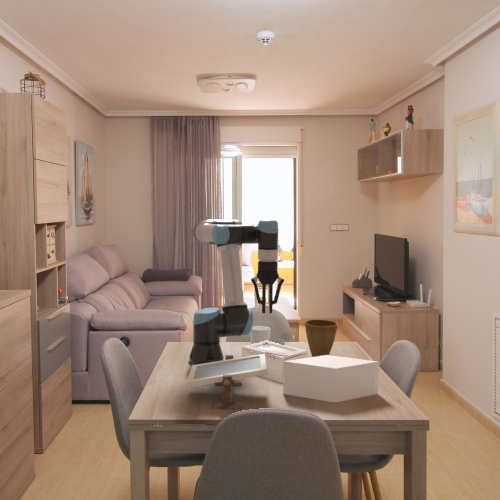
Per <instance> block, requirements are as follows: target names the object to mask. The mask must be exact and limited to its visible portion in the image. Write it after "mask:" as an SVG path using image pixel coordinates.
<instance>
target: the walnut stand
mask: <svg viewBox="0 0 500 500" xmlns="http://www.w3.org/2000/svg"><path fill="white" fill-rule="evenodd" d="M224 357H225V358H224V360H228V359H234V355H232V354H231V355H225V356H224ZM215 386H222V401H212V405H211V409H212V410H213V409H217V410H218V409H220V410H222V409H223V410H224V409H225V410H226V409H227V410H228V409H229V410H233V409H234V410H241V409H242V408H243V405H242V403H243V402H242V401H232V399H233V397H232V394H233V393H232V392H233V391H232V389H233V388H232V386H243V380H242V379H235V380H232V375H223V382H217V383H215Z"/></svg>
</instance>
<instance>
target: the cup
mask: <svg viewBox="0 0 500 500" xmlns="http://www.w3.org/2000/svg"><path fill="white" fill-rule="evenodd" d="M268 340H269V341H272V342H275V343H279V344H281V345H284V346H285V343H286V341H285V340H284V339H280V338H270V339H268Z"/></svg>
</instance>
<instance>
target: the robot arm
mask: <svg viewBox="0 0 500 500" xmlns="http://www.w3.org/2000/svg"><path fill="white" fill-rule="evenodd" d="M192 233H193V237H194V239H195V240H196V241H197V242H199V243H201V244H205V245H216V250H217V251H218V252H220V259H221V261H220V262H221V271H222V283H223V284H222V285H223V296H224V298H223V299H224V303H223V305H222V306H221V309H220V308H219V307H215V306H214V307H204V308H200V309H198V310H196V311H195V312H194V313H193V321H192V325H193V333H192V335H193V343H192V348H191V351H190V353H189V357H188V358H189V360H188V361H189V363H190V364H192V365H197V364H203V363H209V362H216V361H222V360H225V358H224V357H225V356H224V354H223V351H222V348H221V343H220V341H221V340H220V339H221V338H226V337H227V338H229V337H241V336H246V335H250V331H251V329H252V327H253V326H254V325H253V324H254V314H253V311H252V309H250V308H248V304H247V303H246V302H245V300H244V291H243V289H244V288H243V281H242V280H243V279H242V270H241V269H242V268H241V258H240V250H241V249H242V247H243V246H242V245H244V244H245V245H248V244H249V245H250V244H257V260H258V262H257V273H256V276H255V277H252V278H251V279H250V282H251V283H252V285H253V287H254V294H255V297H256V301H257V304H260V305H261V313H262V314H264V323H270V314H272V313H273V306H274V305H275V304H277V303H278V301H279V296H280V293H281V289H282V285H283V284H284V282H285V279H284V278H282V277H281V276H279V275H280V274H279V273H278V272H279V271H278V265H279V263H278V261H277V260H278V258H279V257H278V255H279V253H278V252H279V247H278V245H279V224H278V221H277V220H275V219H267V220H266V219H265V220H263V219H260V220H259V221H258V224H256V223H254V224H243V223H242V222H241V221H240V220H239V219H233V218H228V219H226V218H225V219H219V218H218V219H205V220H201V221H199V222H198V223H197V224H196V225H194V228H193V232H192ZM258 281H259V282H260V284H261V285H262V288H261V289H262V292H261V293H262V294H261V297H260V292H259V289H258ZM276 281H277V286H276V291H275V294H274V298H273V293H274V292H273V288H274V287H273V285H274V284H275V283H276ZM267 285H268V304H267V303H266V298H267V297H266V295H267V294H266V293H267V292H266V291H267V289H266V288H267Z"/></svg>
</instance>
